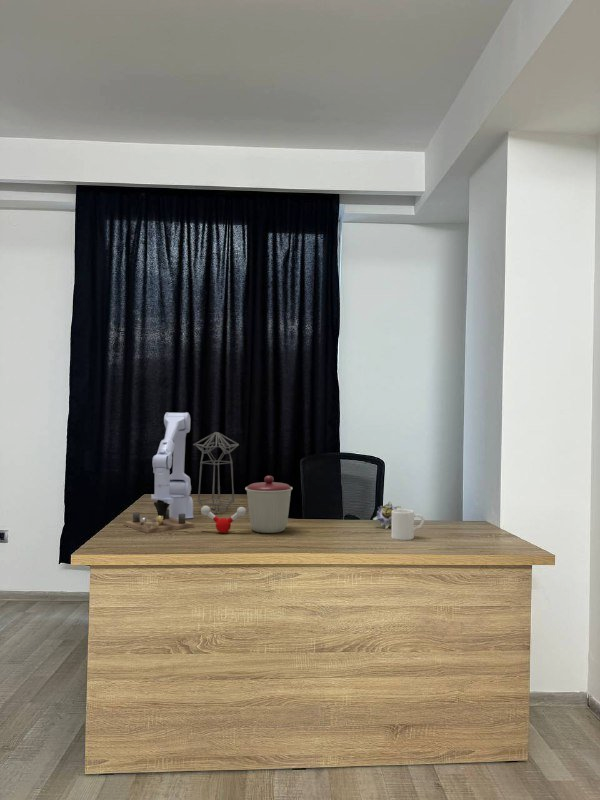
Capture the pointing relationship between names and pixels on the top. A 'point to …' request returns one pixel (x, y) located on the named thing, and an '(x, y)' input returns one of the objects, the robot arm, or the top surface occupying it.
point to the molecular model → (223, 523)
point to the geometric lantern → (219, 436)
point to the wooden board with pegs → (152, 527)
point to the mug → (404, 524)
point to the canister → (268, 505)
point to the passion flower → (385, 514)
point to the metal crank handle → (158, 519)
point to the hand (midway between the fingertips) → (161, 520)
